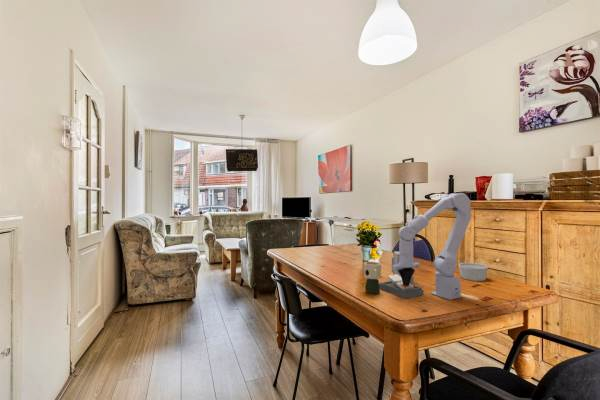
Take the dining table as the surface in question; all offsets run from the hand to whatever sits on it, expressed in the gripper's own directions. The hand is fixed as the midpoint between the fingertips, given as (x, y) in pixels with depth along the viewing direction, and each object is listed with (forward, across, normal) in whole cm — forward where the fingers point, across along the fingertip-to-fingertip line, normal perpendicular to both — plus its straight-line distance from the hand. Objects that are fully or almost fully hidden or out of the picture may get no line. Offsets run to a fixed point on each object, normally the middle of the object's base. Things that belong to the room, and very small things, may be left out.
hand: (406, 285), depth 129 cm
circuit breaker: (+4, -13, -15) cm, 20 cm away
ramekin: (+4, -50, -2) cm, 50 cm away
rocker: (0, 0, -4) cm, 4 cm away
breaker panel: (+4, 0, -4) cm, 5 cm away
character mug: (+4, +12, -8) cm, 15 cm away
